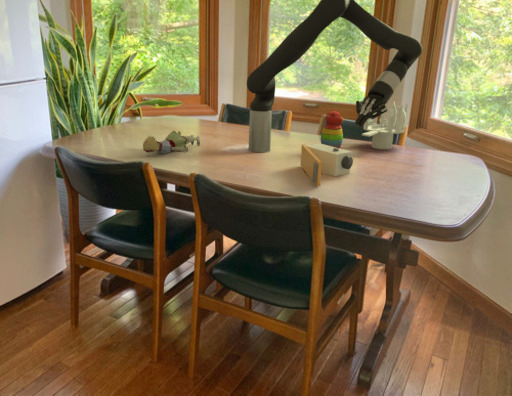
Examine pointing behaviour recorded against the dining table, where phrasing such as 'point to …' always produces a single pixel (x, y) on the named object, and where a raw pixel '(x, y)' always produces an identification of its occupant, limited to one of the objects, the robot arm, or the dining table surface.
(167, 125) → the dining table surface
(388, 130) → the decorative object
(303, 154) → the side door
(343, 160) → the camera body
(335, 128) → the stacking bear
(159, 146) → the figurine
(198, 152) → the dining table surface
